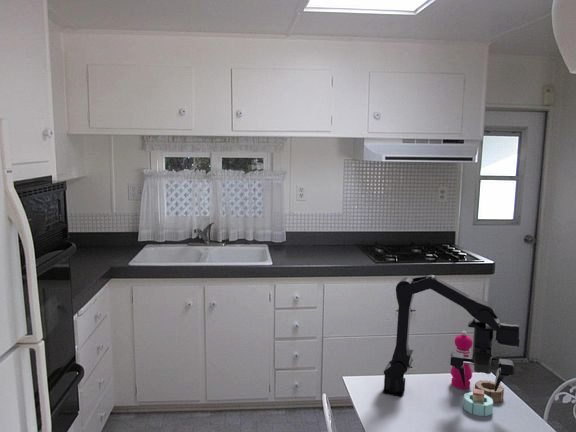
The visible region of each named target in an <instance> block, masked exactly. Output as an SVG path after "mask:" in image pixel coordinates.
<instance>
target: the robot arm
mask: <svg viewBox="0 0 576 432" xmlns="http://www.w3.org/2000/svg"><path fill="white" fill-rule="evenodd" d="M427 290H431V291H434V292H435V293H437V294H439V295H440V296H442V297H444V298H445V299H447V300H449V301H451V302H452V303H454V304H456V305H458V306H460V307H461V308H463V309H464V310H465V311H466V312H467V313H469V314H470V316H472V319H471V320H470V321H468V322H467V323H468V325H467V327H468V328H472V329H473V337H472V338H473V339H472V342H473V344H472V352H471V353H472V355H471V356H472V357H464V356H463V353H458V352H456V351H452V352H451V353H450V361H449V363H450V364H449V365H450V366H451V367H452V366H454V368H455V369H458V370H459V372H460V375H461V378H462V382H463V386H464V387H465V372H464V363H466V364H469V365H473V370H474V372H475V373H478V374H479V373H483V374H487V375H490V374H491V373H492V371H496V374H495V380H494V382H495V385H494V391H495V392H496V390H497V388H498V386H499V384H500V385H501V382H502V381H503V380H504V378H506V377H508V378H509V377H510V376H514V375H515V365H514V362H513V361H512V360H511V359H506V358H498V357H494V356H493V355H492V354H493V344H494V343H493V341H494V342H497V344H498V345H500V346H505V347H511V348H519V347H520V325H519V324H515V323H514V324H513V323H512V324H509V323H504V322H503V323H502V322H501V320H500V318H499V317H498V316H497V314H496V308H495V306H494V304H493V303H491V302H490V301H488V300H485V299H482V298H479V297H475V296H471V295H469V294H468V293H465V292H464V291H462V290H459V289H458V288H456V287H455V286H453V285H451V284H450V283H448V282H446V281H444V280H443V279H441V278H438V277H437V276H436V275H434V274H429V275H424V276H418V277H413V278H411V277H403V278H401V279H400V281H399V282H398V283H397V284H396V286H395V295H396V301H397V305H398V308H397V309H398V311H397V324H396V326H397V327H396V337H395V338H396V341H395V348H394V351H393V354H392V357H391V360H389V362H388V363H387V364H386V367H385V369H384V370H383V375H384V379H383V390H382V393H383V394H385V395H386V394H387V395H392V396H397V397H403V394H404V393H405V392H406V378H405V374H406V373H407V371H408V370H409V369H410V368H411V366H412V363H413V361H414V359H413V354H414V349H410V345H409V336H410V326H411V325H410V323H411V309H412V303H413V299H414V297H415V294H417V293H418V294H419V293H421V292H424V291H427ZM494 331H495V337H494Z"/></svg>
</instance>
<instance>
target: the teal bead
mask: <svg viewBox="0 0 576 432" xmlns="http://www.w3.org/2000/svg"><path fill="white" fill-rule="evenodd" d="M462 403H463V404H462V405H463V409H464V411H466V412H468V413H469V414H471V415H474V416H478V417H479V416H480V417H488V416H492V415H493V413H494V412H493V409H494V402H493V399H492V398H490V397H489V396H487V395H485V394H484V403H480V402H475V401H473V391H469V392H466V393H464V394H463V402H462Z"/></svg>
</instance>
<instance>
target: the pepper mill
mask: <svg viewBox="0 0 576 432" xmlns="http://www.w3.org/2000/svg"><path fill="white" fill-rule="evenodd" d="M467 334H468V333H467V331H466V330H462V331H461V334H458V335H457V336H456V337H455V338H454V345H455V350H454V352H458V353H463V356H464V357H468V358H470V355H471V349H472V348H473V339H472V337H470V336H469V335H467ZM450 368H451V369H450V375H451V376H452V378H451V386H453V387H454V388H457V389H461V390H465V389H467V390H468V389H469V388H470V387H471V381H470V380H471V379H472V378H473V371H472V370H473V369H472V367H471V364H466V363H464V372H465V387H464V386H463V382H462V378H461V375H460V372H459V370H458V369H455V368H454V366H451V367H450Z"/></svg>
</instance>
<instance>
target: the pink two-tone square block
mask: <svg viewBox="0 0 576 432" xmlns="http://www.w3.org/2000/svg"><path fill="white" fill-rule="evenodd" d="M472 393H473V401H475V402H480V403H484V390H480V389H475V387H474V388H473V389H472Z"/></svg>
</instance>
